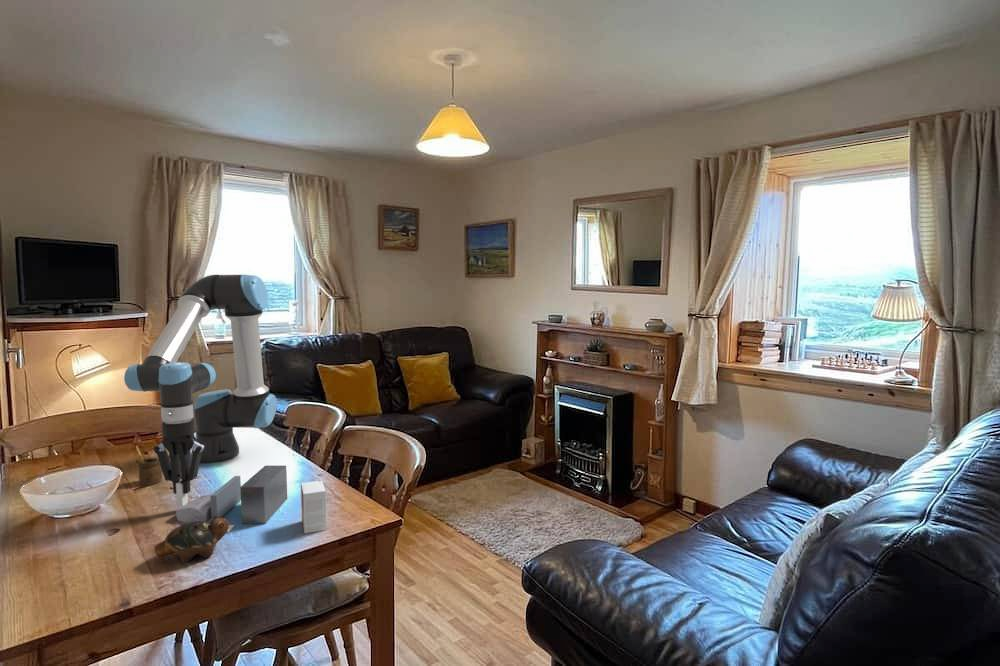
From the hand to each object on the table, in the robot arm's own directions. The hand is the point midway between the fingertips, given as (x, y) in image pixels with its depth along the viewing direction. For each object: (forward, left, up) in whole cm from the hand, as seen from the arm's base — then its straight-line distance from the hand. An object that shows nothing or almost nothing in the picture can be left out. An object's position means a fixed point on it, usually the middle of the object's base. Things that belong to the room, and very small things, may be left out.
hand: (182, 504), depth 150 cm
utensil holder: (-21, -22, -2) cm, 30 cm away
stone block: (+1, +6, -2) cm, 6 cm away
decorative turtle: (+24, +15, -2) cm, 29 cm away
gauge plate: (+3, +12, -2) cm, 12 cm away
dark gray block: (0, +22, -2) cm, 23 cm away
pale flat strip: (+11, +13, -2) cm, 17 cm away
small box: (+9, +38, -2) cm, 40 cm away
